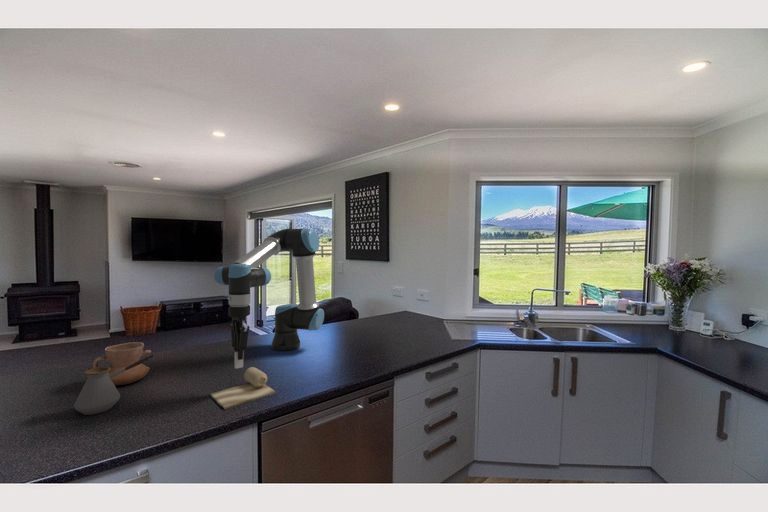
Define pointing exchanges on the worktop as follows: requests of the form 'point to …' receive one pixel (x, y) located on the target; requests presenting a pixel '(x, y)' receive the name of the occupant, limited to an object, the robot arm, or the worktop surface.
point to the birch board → (240, 395)
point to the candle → (255, 377)
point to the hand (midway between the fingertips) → (238, 367)
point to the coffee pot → (100, 390)
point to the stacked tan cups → (125, 362)
